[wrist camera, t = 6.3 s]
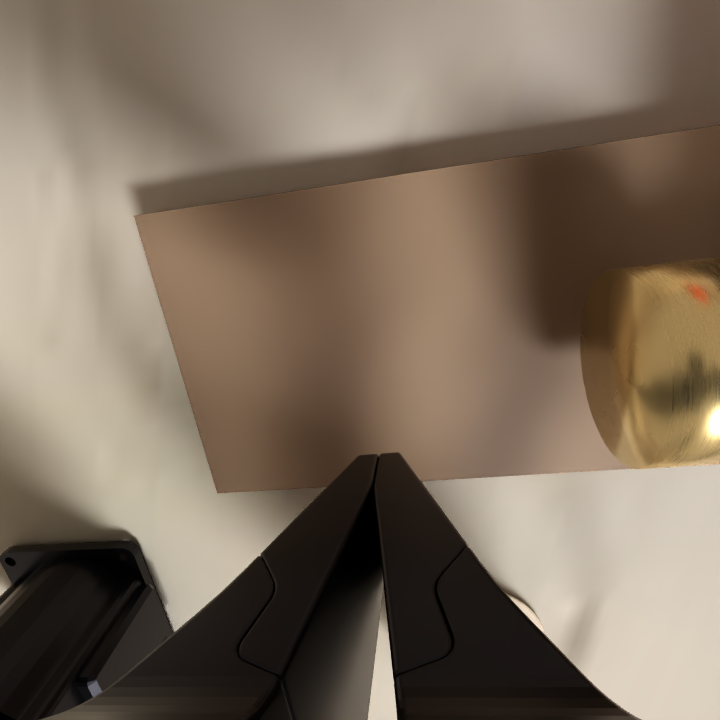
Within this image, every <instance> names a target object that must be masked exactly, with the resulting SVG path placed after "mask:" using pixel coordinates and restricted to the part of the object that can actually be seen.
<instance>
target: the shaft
mask: <svg viewBox="0 0 720 720" xmlns="http://www.w3.org/2000/svg"><path fill="white" fill-rule="evenodd" d="M580 355H581V368H582V376H583V382H584V387H585V392H586V397H587V401H588V404H589V408H590V411H591V414H592V417H593V420H594V422H595V425H596V427H597V429H598V431H599V434H600V436H601V438H602V439H603V441H604V443H605V445H606V446H607V447H608V449H609V450H610V452H611V453H612V454H613V455H614V456H615V458H616V459H618V460H619V461H620V462H621V463H622V464H624V465H626V466H627V467H630V468H633V469H645V468H662V467H679V466H696V465H713V464H720V258H705V259H697V260H688V261H680V262H671V263H663V264H654V265H646V266H637V267H629V268H620V269H612V270H608V271H606V272H604V273H603V274H601V275H600V276H599V277H598V278H597V279H596V280H595V282H594V284H593V285H592V287H591V289H590V291H589V293H588V296H587V299H586V302H585V306H584V310H583V316H582V323H581V334H580Z"/></svg>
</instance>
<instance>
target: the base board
mask: <svg viewBox="0 0 720 720" xmlns="http://www.w3.org/2000/svg"><path fill="white" fill-rule="evenodd" d="M134 217H135V221H136V224H137V227H138V231H139V234H140V237H141V241H142V244H143V247H144V251H145V254H146V257H147V261H148V264H149V267H150V271H151V274H152V277H153V281H154V284H155V287H156V291H157V294H158V297H159V300H160V304H161V307H162V310H163V314H164V317H165V320H166V324H167V327H168V330H169V334H170V337H171V340H172V344H173V347H174V350H175V354H176V357H177V360H178V364H179V367H180V370H181V374H182V377H183V380H184V384H185V387H186V390H187V394H188V397H189V400H190V404H191V407H192V410H193V414H194V417H195V420H196V423H197V427H198V430H199V433H200V437H201V440H202V443H203V447H204V450H205V453H206V457H207V460H208V463H209V467H210V470H211V473H212V477H213V480H214V483H215V487H216V490H217V493H228V492H245V491H262V490H279V489H296V488H313V487H328V486H329V484H330V483H331V482H332V481H333V480H334V479H335V478H336V477H337V476H338V475H339V474H340V473H341V472H342V471H343V470H344V469H345V468H346V467H347V466H348V465H349V464H350V463H351V462H352V461H353V460H354V459H355V458H356V457H357V456H359V455H365V454H378V455H379V456H380V454H382V453H392V452H399V453H400V454H401V455H402V456H403V457H404V459H405V460H406V461H407V463H408V464H409V466H410V467H411V468H412V470H413V471H414V472H415V474H416V475H417V477H418V478H419V479H420V481H431V480H448V479H465V478H482V477H499V476H515V475H532V474H549V473H566V472H583V471H600V470H617V469H633V468H630V467H627V466H626V465H624V464H622V463H621V462H620V461H619V460H618V459H616V458H615V456H614V455H613V454H612V453H611V452H610V450H609V449H608V447H607V446H606V445H605V443H604V441H603V439H602V438H601V436H600V434H599V431H598V429H597V427H596V425H595V422H594V420H593V417H592V414H591V411H590V408H589V404H588V401H587V397H586V392H585V387H584V382H583V376H582V368H581V355H580V334H581V323H582V316H583V310H584V306H585V302H586V299H587V296H588V293H589V291H590V289H591V287H592V285H593V284H594V282H595V280H596V279H597V278H598V277H599V276H600V275H601V274H603V273H604V272H606V271H608V270H612V269H620V268H629V267H637V266H646V265H654V264H663V263H671V262H680V261H688V260H697V259H705V258H720V125H717V126H710V127H704V128H697V129H691V130H685V131H678V132H672V133H665V134H659V135H652V136H646V137H639V138H633V139H627V140H620V141H614V142H607V143H601V144H594V145H588V146H581V147H575V148H569V149H562V150H556V151H549V152H543V153H536V154H530V155H523V156H517V157H511V158H504V159H498V160H491V161H485V162H478V163H472V164H465V165H459V166H452V167H446V168H440V169H433V170H427V171H420V172H414V173H407V174H401V175H394V176H388V177H382V178H375V179H369V180H362V181H356V182H349V183H343V184H336V185H330V186H324V187H317V188H311V189H304V190H298V191H291V192H285V193H278V194H272V195H266V196H259V197H253V198H246V199H240V200H233V201H227V202H220V203H214V204H208V205H201V206H195V207H188V208H182V209H175V210H169V211H162V212H156V213H150V214H143V215H137V216H134Z"/></svg>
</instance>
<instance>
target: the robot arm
mask: <svg viewBox="0 0 720 720" xmlns="http://www.w3.org/2000/svg"><path fill="white" fill-rule="evenodd" d="M0 562H1V564H2V566H3V568H4V569H5V571H6V573H7V575H8V577H9V579H10V581H11V582H12V585H11V586H10V587H9V588H8V589H7V590H6V591H5V592H4V593H3V594H2V595H1V596H0V720H367V719H368V711H369V703H370V694H371V686H372V678H373V669H374V661H375V653H376V644H377V636H378V628H379V620H380V611H381V603H382V595H383V586H384V593H385V603H386V612H387V622H388V631H389V641H390V650H391V660H392V669H393V678H394V688H395V698H396V709H397V720H641V719H639V718H637V717H635V716H634V715H632V714H630V713H629V712H627V711H626V710H624V709H623V708H621V707H620V706H619V705H617V704H616V703H615V702H613V701H612V700H611V699H609V698H608V697H607V696H606V695H605V694H604V693H602V692H601V691H600V690H599V689H598V688H597V687H596V686H595V685H594V684H593V683H592V682H591V681H590V680H588V679H587V678H586V677H585V676H584V674H583V673H582V672H581V671H580V670H579V669H578V668H577V667H576V666H575V665H574V664H573V663H572V662H571V661H570V660H569V659H568V658H567V657H566V656H565V655H564V654H563V653H562V652H561V651H560V650H559V649H558V648H557V647H556V645H555V644H554V643H553V642H552V641H551V640H550V639H549V638H548V637H547V636H546V635H545V634H544V633H543V632H542V631H541V630H540V629H539V628H538V627H537V626H536V625H535V624H534V623H533V622H532V621H531V620H530V619H529V617H528V616H527V615H526V614H525V613H524V612H523V611H522V610H521V609H520V608H519V607H518V606H517V605H516V604H515V603H514V602H513V600H512V599H511V598H510V597H509V596H508V595H507V594H506V593H505V592H504V591H503V589H502V588H501V587H500V586H499V585H498V584H497V583H496V581H495V580H494V579H493V578H492V576H491V575H490V574H489V573H488V571H487V570H486V569H485V568H484V566H483V565H482V564H481V562H480V561H479V560H478V558H477V557H476V556H475V554H474V553H473V551H472V550H471V549H470V548H468V545H467V544H466V542H465V541H464V540H463V538H462V537H461V535H460V534H459V533H458V531H457V530H456V529H455V527H454V526H453V524H452V523H451V522H450V520H449V519H448V518H447V516H446V515H445V513H444V512H443V511H442V509H441V508H440V507H439V505H438V504H437V503H436V501H435V500H434V498H433V497H432V496H431V494H430V493H429V492H428V490H427V489H426V487H425V486H424V485H423V483H422V482H421V481H420V479H419V478H418V477H417V475H416V474H415V472H414V471H413V470H412V468H411V467H410V466H409V464H408V463H407V461H406V460H405V459H404V457H403V456H402V455H401V454H400V453H399V452H392V453H382V454H380V456H379V455H378V454H365V455H359V456H357V457H356V458H355V459H354V460H353V461H352V462H351V463H350V464H349V465H348V466H347V467H346V468H345V469H344V470H343V471H342V472H341V473H340V474H339V475H338V476H337V477H336V478H335V479H334V480H333V481H332V482H331V483H330V484H329V486H328V487H327V488H326V489H325V490H324V491H323V492H322V493H321V494H320V495H319V496H318V497H317V498H316V499H315V500H314V501H313V502H312V503H311V504H310V505H309V506H308V507H307V508H306V509H305V510H304V511H303V512H302V513H301V514H300V515H299V516H298V517H297V518H296V519H295V520H294V521H293V522H292V523H291V524H290V525H289V526H288V527H287V528H286V529H285V530H284V531H283V532H282V533H281V534H280V535H279V536H278V537H277V538H276V539H275V540H274V541H273V542H272V543H271V544H270V545H269V546H268V547H267V548H266V549H265V550H264V551H263V552H262V553H261V557H260V556H258V557H257V558H256V559H255V560H254V561H253V562H252V563H251V564H250V565H249V566H248V567H247V568H246V569H245V570H244V571H243V572H242V573H241V574H240V575H239V576H238V577H237V578H235V579H234V580H233V581H232V582H231V583H230V584H229V585H228V586H227V587H226V588H225V589H224V590H223V591H222V592H221V593H220V594H219V595H217V596H216V597H215V598H214V599H213V600H212V601H211V602H209V603H208V604H207V605H206V606H205V607H204V608H203V609H201V610H200V611H199V612H198V613H197V614H196V615H195V616H193V617H192V618H191V619H190V620H189V621H187V622H186V623H185V624H184V625H183V626H182V627H180V628H179V629H178V630H177V631H176V632H174V633H173V632H172V630H171V627H170V625H169V622H168V620H167V617H166V615H165V612H164V610H163V607H162V605H161V602H160V599H159V597H158V594H157V592H156V589H155V587H154V584H153V582H152V579H151V577H150V574H149V571H148V569H147V566H146V564H145V561H144V559H143V556H142V554H141V551H140V549H139V547H138V546H137V545H136V544H134V543H132V542H129V541H117V542H95V543H72V544H50V545H27V546H12V547H9V548H8V549H7V550H6V551H5V552H4V553H3V554H2V555H1V556H0Z"/></svg>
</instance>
